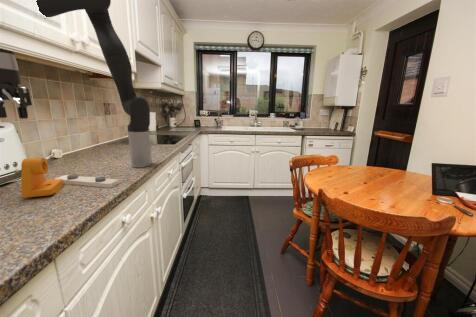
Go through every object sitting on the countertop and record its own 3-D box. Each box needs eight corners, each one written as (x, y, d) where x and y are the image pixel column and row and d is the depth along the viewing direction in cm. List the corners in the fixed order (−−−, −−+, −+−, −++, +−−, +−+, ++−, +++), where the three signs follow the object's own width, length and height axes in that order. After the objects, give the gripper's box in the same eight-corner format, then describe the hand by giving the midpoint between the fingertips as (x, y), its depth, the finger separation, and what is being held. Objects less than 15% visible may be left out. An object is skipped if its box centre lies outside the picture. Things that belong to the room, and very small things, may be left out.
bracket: (52, 197, 69) (45, 161, 66) (23, 200, 66) (14, 163, 63) (64, 185, 78) (58, 154, 76) (39, 188, 76) (33, 155, 73)
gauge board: (66, 178, 86) (65, 172, 85) (119, 183, 82) (119, 177, 82) (53, 182, 81) (52, 176, 80) (110, 187, 77) (109, 181, 77)
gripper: (33, 70, 73) (42, 118, 77) (-3, 70, 75) (8, 117, 78) (7, 66, 66) (18, 119, 70) (-31, 66, 67) (-19, 117, 71)
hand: (13, 118), depth 74 cm, fingers open, 8 cm apart
